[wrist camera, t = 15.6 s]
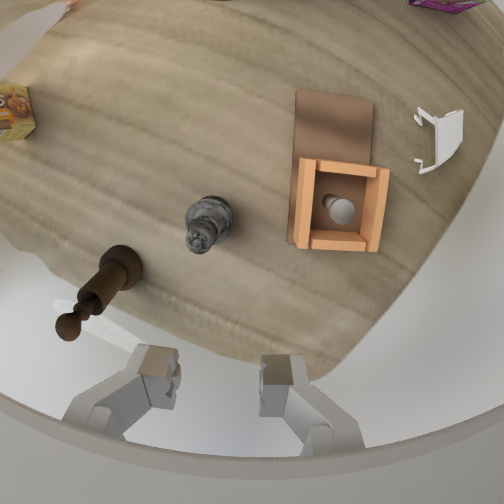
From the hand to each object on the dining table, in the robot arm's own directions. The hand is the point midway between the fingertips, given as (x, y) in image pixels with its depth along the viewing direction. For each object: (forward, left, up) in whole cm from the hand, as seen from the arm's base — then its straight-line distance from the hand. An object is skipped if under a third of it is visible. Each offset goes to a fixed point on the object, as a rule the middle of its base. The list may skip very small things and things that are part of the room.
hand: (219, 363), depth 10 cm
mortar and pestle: (+10, -18, -29) cm, 36 cm away
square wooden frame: (-1, +12, -28) cm, 30 cm away
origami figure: (-12, +26, -29) cm, 41 cm away
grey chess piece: (+2, -4, -29) cm, 30 cm away
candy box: (-16, -37, -29) cm, 50 cm away
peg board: (-5, +11, -29) cm, 31 cm away
